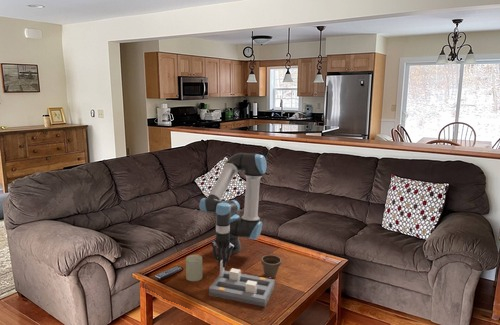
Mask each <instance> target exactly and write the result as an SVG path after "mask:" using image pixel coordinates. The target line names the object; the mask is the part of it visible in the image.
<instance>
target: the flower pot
mask: <svg viewBox="0 0 500 325" xmlns="http://www.w3.org/2000/svg"><path fill="white" fill-rule="evenodd" d="M260 262H261V265H262V269H263V275H264V276H265V278H268V277H271V278H270V279H272V277H273V278H276V276H277V274H278V271H279V267H280V266H281V265H282V259H281V257H279V256H277V255H273V254H266V255H263V256H262V257H261V259H260Z"/></svg>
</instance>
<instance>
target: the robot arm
mask: <svg viewBox="0 0 500 325" xmlns="http://www.w3.org/2000/svg"><path fill="white" fill-rule="evenodd" d="M267 166H268V165H267V159H266V157H265V156H264V155H263V154H259V153H249V152H248V153H247V152H238V153H236V154H233V155H232V156H231V157H229V158H228V159H227V160H226V161H225V163H224V165H223V170H222V171H221V173H220V175H219V176H218V179H217V181H216V182H215V183H214V185H213V187H212V188H211V190H210V192H209V194H208V196H207V197H203V198H201V199H200V201H199V210H200V211H202V212H206V213H211V214H215V240H214V241H212V242H210V245H211V247H212V251H213V255H214V259H215V260H216V261H218V267H219V274H221V273H222V274H223V272H224V271H225V268H226V266H227V262H229V261H230V259H231V255H234V254H235V255H236V254H238V253H239V252H241V251H242V245H241V241H240V239H239V238H244V239H249V240H257V239H258V238H259V237H260V235H261V233H262V229H263V222H262V221H260V219H261V218H260V217H259V215H258V213H259V212H258V211H259V197H260V183H261V178H263V176H264V174H266V172H267ZM239 172H244V173H243V174H244V177H245V179H246V182H245V192H244V196H245V197H244V210H243V214H242V216H241V217H240V215H239V214H238V212H240V209H241V205H240V203H239V202H238V201H237V200H235V199H233V200H229V201H227V200H222V199H223V197H224V195H225V192H227V190H228V187H229V186H230V184H231V182H232V180H233V178H234V176H235V175H237V174H238V173H239Z"/></svg>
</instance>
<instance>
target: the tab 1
mask: <svg viewBox="0 0 500 325" xmlns="http://www.w3.org/2000/svg"><path fill="white" fill-rule="evenodd" d="M229 271H230V272H229V279H231V280H236V281H240V276H241V274H242V271H241V269H240V268H239V269H237V268H233V267H232V268H230V270H229Z"/></svg>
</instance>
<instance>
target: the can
mask: <svg viewBox="0 0 500 325" xmlns="http://www.w3.org/2000/svg"><path fill="white" fill-rule="evenodd" d="M185 270H186V271H185V279H186V280H188V281H190V282H198V281H200V280H202V279H203V256H201V255H200V254H190V255H187V256H186V258H185Z"/></svg>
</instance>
